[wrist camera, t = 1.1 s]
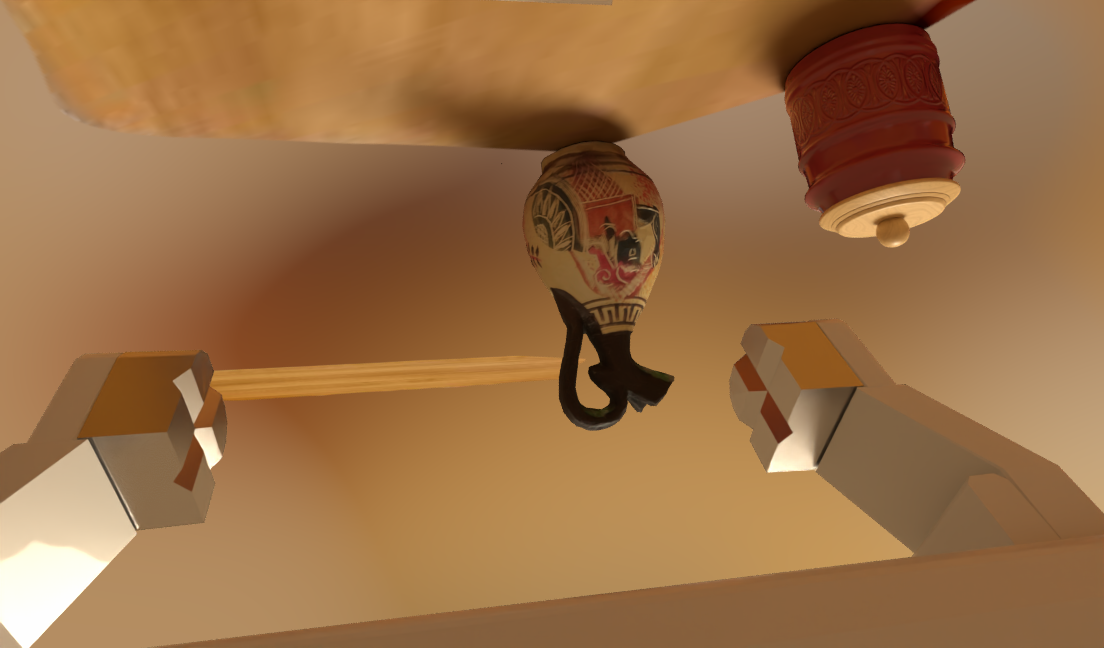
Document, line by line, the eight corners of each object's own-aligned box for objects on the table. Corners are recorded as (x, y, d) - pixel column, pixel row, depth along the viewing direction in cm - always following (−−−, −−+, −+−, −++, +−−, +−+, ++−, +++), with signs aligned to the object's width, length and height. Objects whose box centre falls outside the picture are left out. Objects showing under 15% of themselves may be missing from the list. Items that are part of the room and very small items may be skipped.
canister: (929, 73, 65) (974, 246, 61) (791, 116, 70) (823, 277, 67) (937, -3, 54) (992, 204, 50) (771, 55, 59) (809, 246, 55)
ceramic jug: (679, 126, 70) (727, 414, 64) (621, 188, 84) (655, 428, 78) (522, 117, 65) (557, 430, 58) (488, 185, 79) (513, 442, 73)
